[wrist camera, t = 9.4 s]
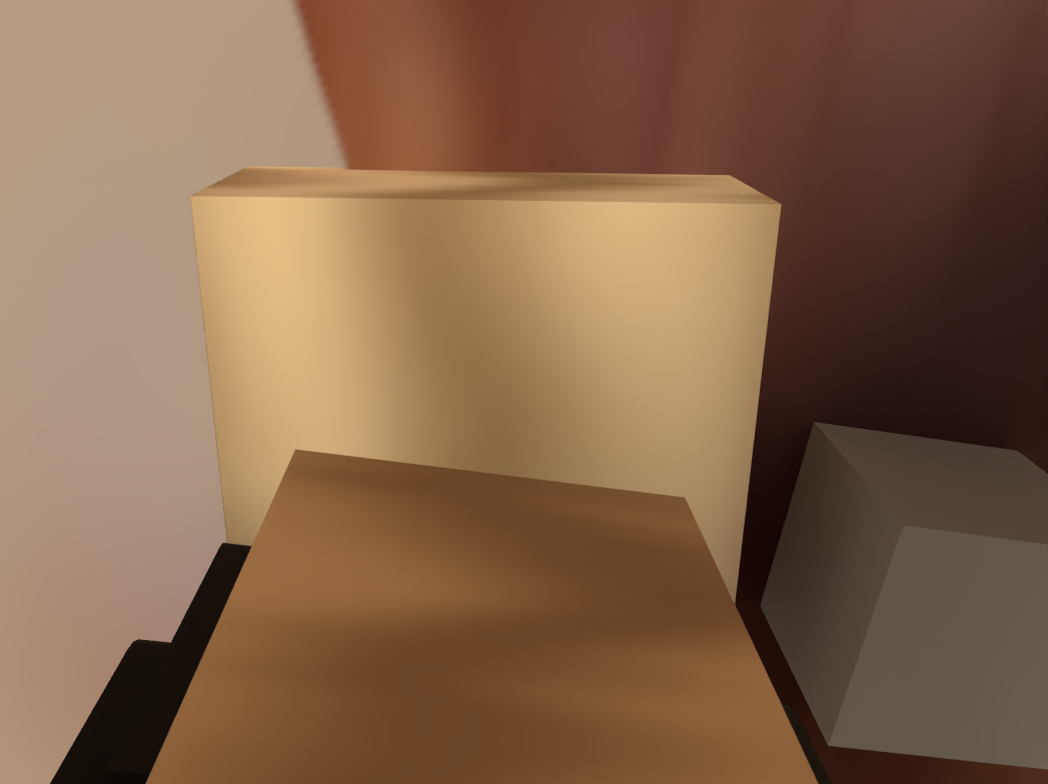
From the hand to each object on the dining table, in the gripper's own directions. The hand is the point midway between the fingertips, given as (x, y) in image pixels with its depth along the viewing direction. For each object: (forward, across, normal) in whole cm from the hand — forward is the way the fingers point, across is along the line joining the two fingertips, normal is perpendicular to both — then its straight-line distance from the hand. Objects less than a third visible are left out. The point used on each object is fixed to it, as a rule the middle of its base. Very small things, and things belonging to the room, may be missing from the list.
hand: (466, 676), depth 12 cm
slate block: (+10, -10, +2) cm, 14 cm away
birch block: (+10, 0, 0) cm, 10 cm away
